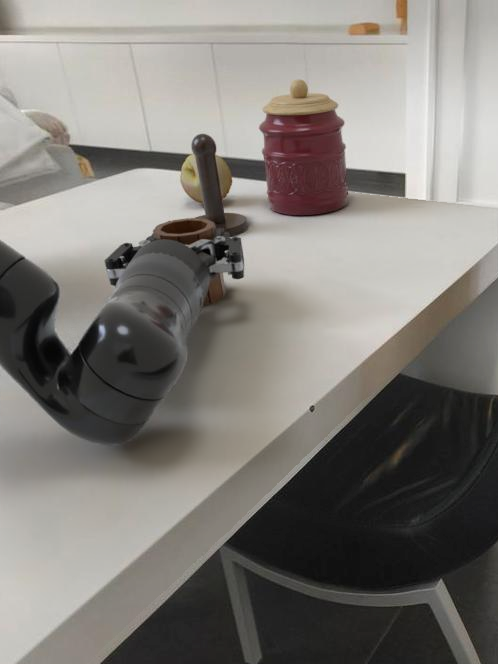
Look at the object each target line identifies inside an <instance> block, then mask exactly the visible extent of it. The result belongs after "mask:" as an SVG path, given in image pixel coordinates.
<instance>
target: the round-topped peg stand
mask: <svg viewBox="0 0 498 664" xmlns="http://www.w3.org/2000/svg"><path fill="white" fill-rule="evenodd" d="M191 152H192V154H194V155H195V158H196V164H197V170H198V175H199V181H200V187H201V193H202V198H203V209H204V214H202V215H198V216H196V217H194V218H200V219H208V220H210V221H212V222H214V223H215V227H216V229H217V228H223V229H224V232H228V233H229V236H230V237H235V236H237V235H240V234H242V233H244V232H245V231H247V230H248V227H249V225H248V218H247V217H246V216H245V215H243V214H240V213H235V212H225V208H224V202H223V201H224V200H223V199H222V194H221V187H220V181H219V174H218V168H217V162H216V155H217V144H216V141H215V140H214V138H213V137H212V136H210V135H209V134H207V133H199V134H196V135H195V136H194V137H193V139H192V141H191ZM215 154H216V155H215Z"/></svg>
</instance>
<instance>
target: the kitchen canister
mask: <svg viewBox="0 0 498 664" xmlns="http://www.w3.org/2000/svg"><path fill="white" fill-rule="evenodd" d="M289 93H290V94H282V95H278V96H274V97H272V98H271V99H270V101H269V102H268V103H267V104H266V105H264V106H263V107H262V112H263V113H264V114H265V118H264V120H263V121H262V122H261V123H260V124H259V126H258V129H259V131H260V132H261V133H262V135H263V148H262V149H261V153H262V155H263V165H264V171H265V179H266V181H265V182H266V195H267V201H268V203H269V208H270V209H271V211H273V212H276V213H278V214H282V215H289V216H313V215H321V214H322V215H323V214H326V213H331V212H335V211H337V210H340V209H342V208H343V207H345V206H346V205H347V203H348V197H349V185H348V183H347V182H348V181H347V180H348V179H347V164H346V163H347V161H346V148H347V145H346V143H345V142H344V141H343V133H342V130H343V128H344V126H345V124H346V122H345V120H344V119H343V118H342V117H341V116H340V115H338V113H337V111H336V110H337V109H338V108H339V103H338V102H336V101H335V100H333V99H331V97H329V95H328V94H325V93H324V94H323V93H317V92H316V93H315V92H313V93H312V92H310V93H309V89H308V85H307V83H306V81H305V80H303V79H299V78H297V79H294V80H292V81H291V83H290V86H289Z"/></svg>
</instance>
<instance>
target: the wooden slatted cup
mask: <svg viewBox="0 0 498 664" xmlns="http://www.w3.org/2000/svg"><path fill="white" fill-rule="evenodd" d="M215 232H216V227H215V223H214V222H212V221H210V220H208V219H200V218H195V217H190V218H189V217H187V218H180V219H179V218H178V219H172V220H168V221H165V222H163V223H159V224H157V225H156V226H155V227H154V229H153V230H152V234H154V239H155V240H162V239H166V240H173V241H177V242H180V243H182V244H184V245H190V244H192V243H194V242H196V241H198V240H200V239H208V240H211V239H213V236H214V234H215ZM215 254H216V253H215ZM225 283H226V282H225V275H224V272H222V273H217V276H216V277H215V278H214V279H212V280H211V281H210V283H209V288H208V292H207V295H206V298H205V300H204V303H203V306H209V305H213V304H215V303H217V302H219V301H221V300H223V299H224V298H225V295H226V293H227V289H226V284H225Z"/></svg>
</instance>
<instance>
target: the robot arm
mask: <svg viewBox="0 0 498 664" xmlns="http://www.w3.org/2000/svg"><path fill="white" fill-rule="evenodd" d="M215 253H216V254H215ZM104 265H105V267H106V272H107V276H108V280H109V283H110V286H114V289H113V292H112V293H111V294H110V296H109V298H108V299H107V300H106V302H105V304H104V305H103V306H102V307H101V309H99V311H98V313H96V315H95V317H94V318H93V319H92V321H91V322H90V324H89V325H88V327H87V328H86V330H85V331H84V332H83V335H82V336H81V338H80V340H79V342H78V343H77V345H76V346H75V348H74V349H73V351H72V352H70V350H69V349H68V348H67V346H66V344H64V343H63V341H62V339H61V338H60V336H59V335H58V333H57V331H56V317H57V314H58V310H59V305H60V301H61V288H60V285H59V284H58V282H57V280H56V279H55V277H53V276H52V275H51V274H50V273H48V272H47V271H46V270H44V269H43V268H42V267H41V266H39V265H38V264H36V263H35V262H33V261H32V260H30V259H28V258H27V257H26V256H25V255H23V254H22V253H20V252H19V251H17V250H16V249H14V248H13V247H12V246H10V245H8V244H7V243H6V242H4V241H3V240H1V239H0V368H1V369H2V370H3V371H4V372H5V373H6V374H7V375H8V376H9V377H10V378H11V379H12V380H13V381H14V382H15V383H17V385H19V386H20V387H21V389H23V391H24V392H25V393H27V395H29V396H30V397H31V399H32V400H33V401H34V402H35V403H36V404H37V405H38V406H39V407H40V408H41V409H42V410H43V411H44V412H45V413H46V414H47V415H48V417H50V418H51V419H52V420H54V422H55V423H57V424H58V425H59V426H60V427H62V429H64V430H66V431H67V432H69V434H71V435H73V436H75V437H77V438H79V439H81V440H83V441H86V442H89V443H92V444H95V445H101V446H119V445H123V444H124V445H125V444H127V443H129V442H130V441H132V440H133V439H135V437H136V436H137V435H139V434H140V432H141V431H142V430H143V428H144V427H145V425H146V424H147V422H148V421H149V420H150V418H151V417H152V416H153V414H154V413H155V412H156V410H157V409H158V407H159V406H160V405H161V403H162V402H163V401H164V399H165V398H166V397H167V395H169V393H170V391H171V390H172V389H173V387H174V386H175V385H176V383H177V381H178V380H179V379H180V377H181V375H182V372H183V371H184V369H185V366H186V363H187V360H188V356H189V351H188V347H187V346H188V345H187V339H188V337H189V334H190V332H191V331H192V330H193V328H194V327H195V325H196V323H197V320H198V318H199V315H200V313H201V311H202V309H203V307H204V305H203V303H204V300H205V298H206V295H207V292H208V288H209V283H210V281H211V280H212V279H214V278H215V277H216V276H217V273H222V272H223V273H227V275H229V276H231V278H232V279H234V280H240V279H243V278H244V277H245V257H244V250H243V244H242V238H241V237H239V236H232V237H231V236H229V233H228V232H224V229H223V228H217V229H216V232H215V234H214V236H213V239H211V240H208V239H200V240H198V241H196V242H194V243H192V244H190V245H184V244H182V243H180V242H177V241H173V240H166V239H162V240H155V239H154V234H153V233H152V234H151V235H149V236H148V237H146V239H143V240H141V241H138V246H134V245H133V243H131V242H124V243H122V244H120V245H119V246H118V247H117V248H116V249H115V250H114V251H113V252H112V253H111V254H110V255H109V256H107V258H105V259H104Z"/></svg>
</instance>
